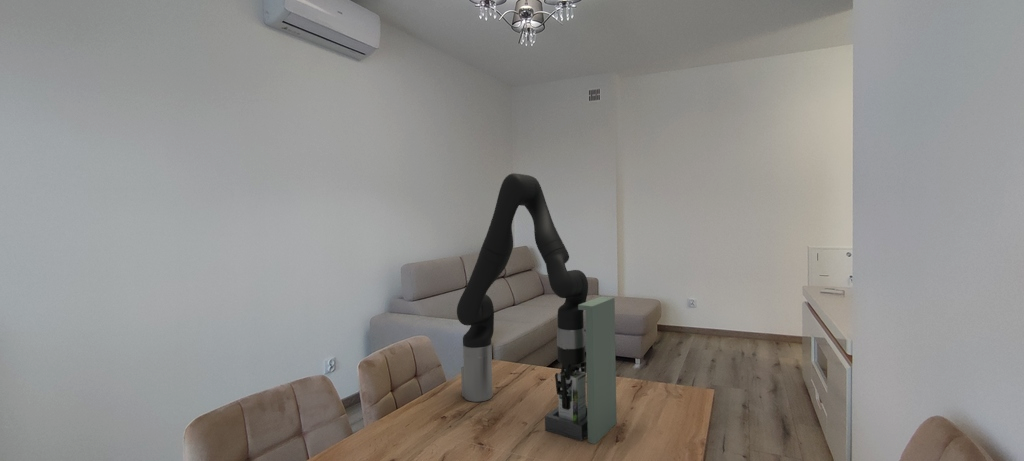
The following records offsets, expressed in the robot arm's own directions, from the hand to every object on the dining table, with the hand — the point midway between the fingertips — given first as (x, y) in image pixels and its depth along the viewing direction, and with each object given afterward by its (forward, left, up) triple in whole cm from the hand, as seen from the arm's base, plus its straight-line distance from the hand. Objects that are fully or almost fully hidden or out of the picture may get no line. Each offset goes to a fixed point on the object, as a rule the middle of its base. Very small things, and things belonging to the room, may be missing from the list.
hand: (571, 404), depth 124 cm
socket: (0, 0, -6) cm, 6 cm away
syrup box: (0, 0, -6) cm, 6 cm away
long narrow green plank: (+8, +2, -6) cm, 11 cm away
